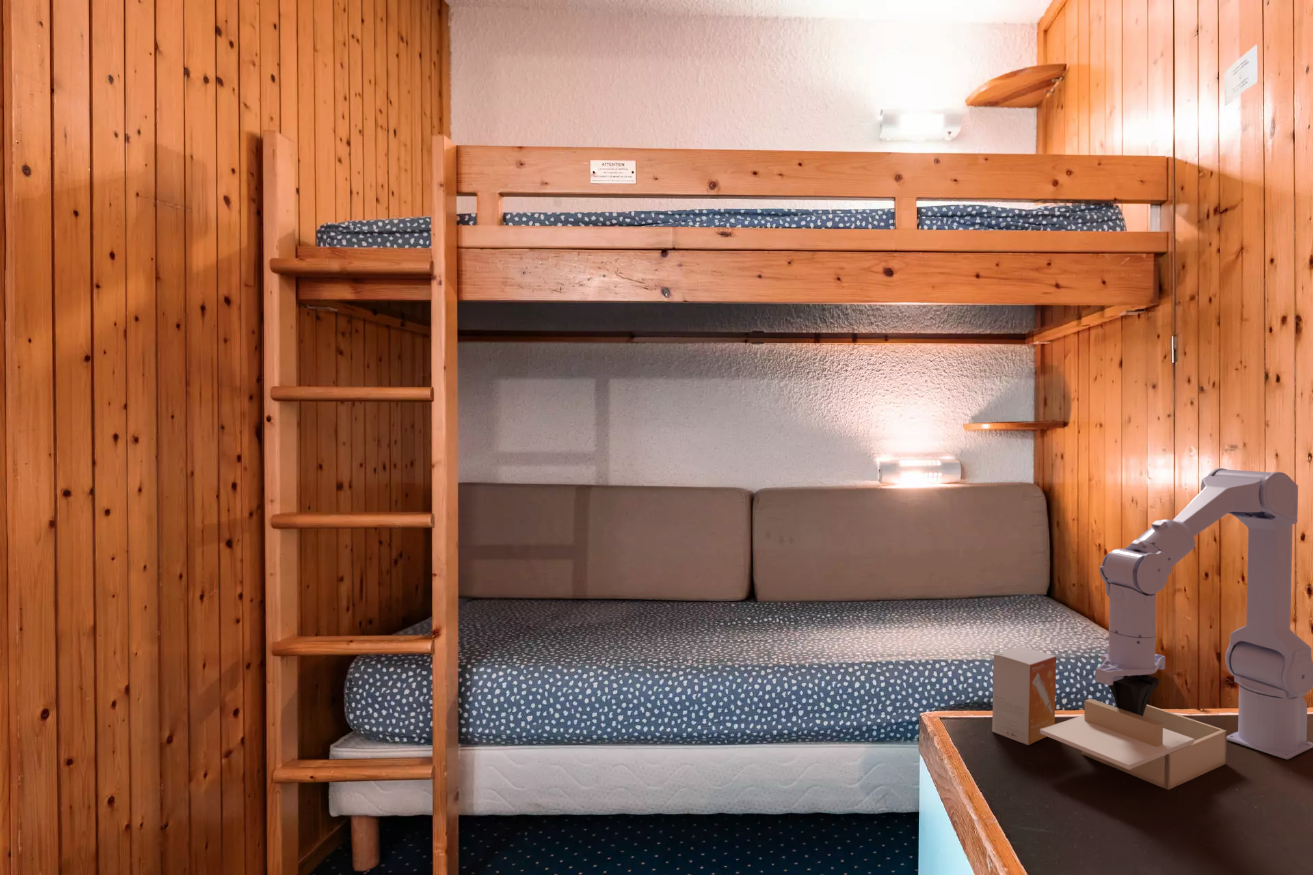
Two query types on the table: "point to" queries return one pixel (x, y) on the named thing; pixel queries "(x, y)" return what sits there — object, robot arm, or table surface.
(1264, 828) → the table surface
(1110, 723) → the lid
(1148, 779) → the box
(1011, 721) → the small box
